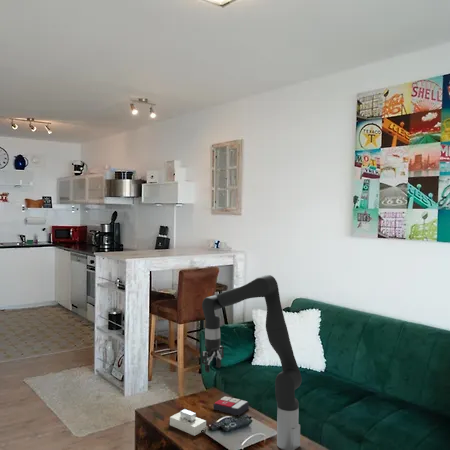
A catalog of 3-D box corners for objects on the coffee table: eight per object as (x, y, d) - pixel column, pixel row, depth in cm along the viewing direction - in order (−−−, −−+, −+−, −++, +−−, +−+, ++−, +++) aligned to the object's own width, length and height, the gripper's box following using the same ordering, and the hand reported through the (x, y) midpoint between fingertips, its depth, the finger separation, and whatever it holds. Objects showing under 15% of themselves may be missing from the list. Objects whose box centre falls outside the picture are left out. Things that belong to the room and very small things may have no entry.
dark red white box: (224, 395, 246) (248, 400, 238) (224, 403, 246) (249, 408, 238) (212, 402, 236) (237, 408, 228) (213, 410, 237) (238, 416, 228)
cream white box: (206, 429, 215) (206, 420, 215) (194, 435, 209) (194, 427, 208) (181, 419, 225) (181, 411, 225) (169, 425, 219) (169, 416, 219)
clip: (195, 427, 216) (195, 413, 215) (191, 430, 213) (191, 415, 213) (184, 423, 220) (184, 409, 220) (180, 425, 218) (180, 411, 218)
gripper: (209, 341, 216) (209, 375, 216) (227, 334, 227) (227, 367, 227) (197, 338, 220) (197, 372, 221) (215, 332, 231) (216, 364, 232)
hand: (212, 369), depth 224 cm, fingers open, 8 cm apart
